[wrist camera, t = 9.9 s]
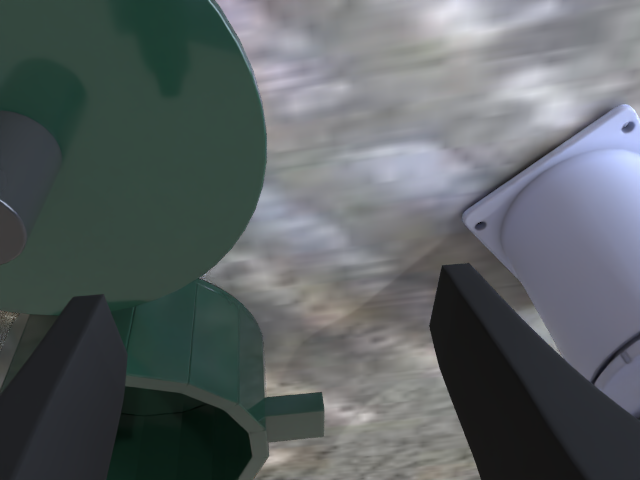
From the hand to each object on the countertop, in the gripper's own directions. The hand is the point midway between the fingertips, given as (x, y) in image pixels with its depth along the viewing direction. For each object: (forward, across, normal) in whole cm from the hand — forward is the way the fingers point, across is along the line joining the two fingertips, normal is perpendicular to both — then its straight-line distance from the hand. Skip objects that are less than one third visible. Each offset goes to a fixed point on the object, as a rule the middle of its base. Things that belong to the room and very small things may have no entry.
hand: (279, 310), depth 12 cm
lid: (+7, +7, -1) cm, 10 cm away
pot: (+10, +7, +14) cm, 19 cm away
